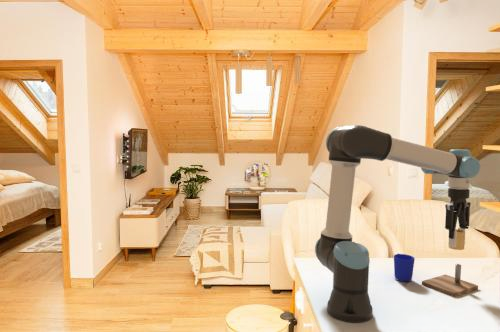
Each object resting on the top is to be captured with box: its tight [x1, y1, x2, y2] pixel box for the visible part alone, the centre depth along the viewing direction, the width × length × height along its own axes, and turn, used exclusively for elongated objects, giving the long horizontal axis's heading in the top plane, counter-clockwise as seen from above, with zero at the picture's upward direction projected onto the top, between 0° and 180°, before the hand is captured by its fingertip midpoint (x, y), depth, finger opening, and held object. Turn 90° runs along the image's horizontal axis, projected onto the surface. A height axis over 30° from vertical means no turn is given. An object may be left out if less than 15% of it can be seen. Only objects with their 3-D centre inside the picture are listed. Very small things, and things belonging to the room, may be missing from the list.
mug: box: [393, 253, 416, 283], centre depth 164 cm, size 8×12×10 cm
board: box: [421, 274, 479, 298], centre depth 155 cm, size 16×14×2 cm
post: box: [454, 263, 462, 285], centre depth 154 cm, size 3×3×8 cm
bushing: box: [448, 228, 466, 251], centre depth 153 cm, size 5×5×7 cm
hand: (456, 245), depth 153 cm, fingers closed on bushing, 5 cm apart
